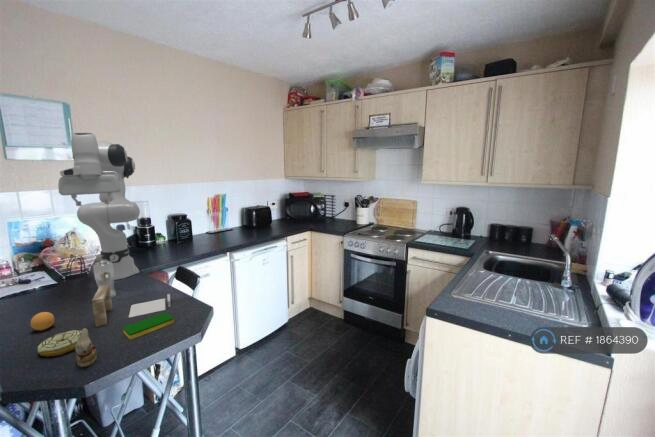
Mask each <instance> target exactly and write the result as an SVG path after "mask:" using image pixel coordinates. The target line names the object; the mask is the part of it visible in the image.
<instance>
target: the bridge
mask: <svg viewBox="0 0 655 437" xmlns="http://www.w3.org/2000/svg"><path fill="white" fill-rule="evenodd" d="M91 304H92V311H93V317H94V323H95V327H100V326H106V325H107V324H108V318H107V312H108V311H112V310H113V303H112V297H111V295H110V288H109V285H105V286H99V288H98V289H97V291H96V292H95V294H94V296H93V298H92V299H91Z"/></svg>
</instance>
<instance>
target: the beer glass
mask: <svg viewBox="0 0 655 437" xmlns="http://www.w3.org/2000/svg"><path fill="white" fill-rule="evenodd" d="M92 266H93V276H94V277H93V278H94V280H95V283H96V285H97V287H98V288H99V286H105V285H109V288H110V295H111V298H113V297H115V296H116V295H117V292H116V290H115V280H114V268H113V264H112V261H102V262H100V261H98V262H94V263H93V265H92Z"/></svg>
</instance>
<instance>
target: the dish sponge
mask: <svg viewBox="0 0 655 437" xmlns="http://www.w3.org/2000/svg"><path fill="white" fill-rule="evenodd" d="M174 323H175V318H174V317H173V316H172V315H170V314H169V313H168V312H162V313H160V314H157V315H154V316H151V317H149V318H146V319H143V320H140V321H137V322H134V323H132V324H129V325H125V326H124V327H122V332H123V334H124V335H125V336H126V337H127V339H128V340H134V339H137V338H139V337H141V336H144V335H146V334H149V333H152V332H155V331H157V330H159V329H160V330H161V328H165V327H167V326H170V325H172V324H174Z"/></svg>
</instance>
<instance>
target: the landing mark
mask: <svg viewBox="0 0 655 437" xmlns="http://www.w3.org/2000/svg"><path fill="white" fill-rule="evenodd" d="M162 311H166V298H159V299H155V300H151V301H150V300H149V301H146V302H141V303H140V302H139V303H135V304H131V306H130V310H129V314H128V318H129V319H130V318H135V317H139V316H144V315H149V314H153V313H159V312H162Z"/></svg>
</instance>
